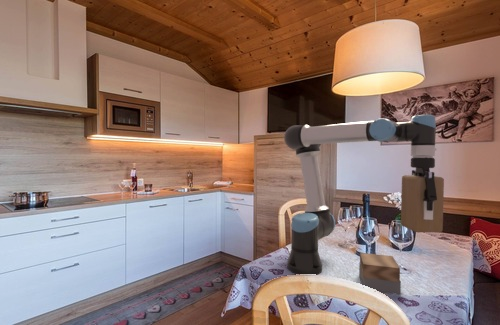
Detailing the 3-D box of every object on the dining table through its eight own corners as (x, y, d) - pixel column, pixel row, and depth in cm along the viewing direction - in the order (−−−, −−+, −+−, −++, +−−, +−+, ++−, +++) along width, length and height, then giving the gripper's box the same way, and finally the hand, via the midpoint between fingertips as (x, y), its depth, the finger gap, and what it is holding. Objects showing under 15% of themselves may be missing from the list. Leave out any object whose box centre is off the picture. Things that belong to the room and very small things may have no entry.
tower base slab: (364, 291, 97) (364, 277, 97) (359, 276, 109) (359, 264, 109) (400, 295, 95) (400, 281, 94) (391, 279, 106) (391, 267, 106)
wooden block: (424, 225, 104) (425, 175, 103) (443, 233, 94) (445, 177, 93) (399, 225, 104) (400, 175, 103) (416, 233, 94) (417, 177, 93)
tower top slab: (363, 277, 97) (363, 264, 97) (359, 264, 109) (360, 252, 109) (399, 282, 94) (399, 268, 94) (392, 268, 105) (392, 255, 105)
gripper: (450, 157, 86) (448, 224, 86) (421, 157, 109) (419, 209, 109) (424, 157, 87) (423, 222, 88) (401, 156, 110) (399, 208, 111)
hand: (421, 215), depth 99 cm, fingers closed on wooden block, 11 cm apart
